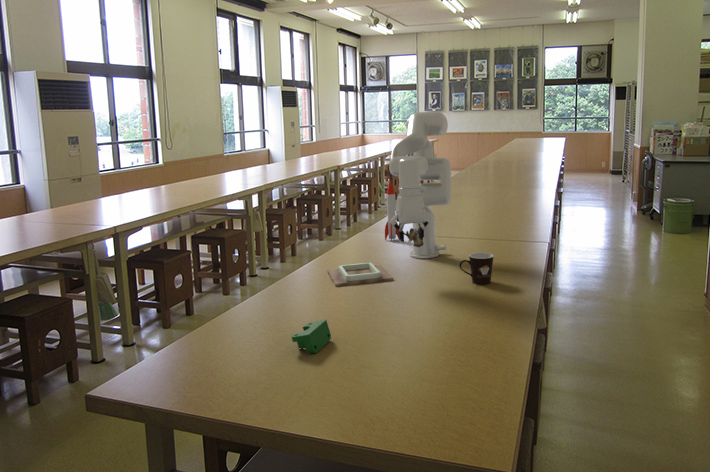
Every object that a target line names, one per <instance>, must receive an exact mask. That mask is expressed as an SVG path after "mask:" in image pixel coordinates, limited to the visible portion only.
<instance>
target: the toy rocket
mask: <svg viewBox="0 0 710 472" xmlns="http://www.w3.org/2000/svg"><path fill="white" fill-rule="evenodd" d="M386 210H387V214H386V215H387V221H386V223H385V225H384V227H385V228H384V240H385V241H386V240H387V238H388V239H390V242H391V243H392V242H393V240H394V239H396V238H397V239H398V241H400V239H399V234H398V230H397V229H396V228H395V227H394V226H393V225H392V224H391V223H390V220H391V219H392V218H393V217H394V216H395V215H396V193H395V190H394V186H393V183H392V181H391V179H390V180H389V182H388V187H387V191H386ZM395 223H396V224H397V225H399V222H397V221H395Z"/></svg>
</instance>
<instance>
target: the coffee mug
mask: <svg viewBox="0 0 710 472" xmlns="http://www.w3.org/2000/svg"><path fill="white" fill-rule="evenodd" d="M468 258H469V260H467V259H463V260H461V261H460V263H459V268H460V270H461V271H462V272H464V273H466V274H467V275H469V276H470V277H471V280H472V284H474V285H479V286H483V285H484V286H486V285H490V284H491V281H492V273H493V263H494V254H492V253H489V252H474V253H473V252H472V253H471V254H469V255H468ZM465 262H466V263H468V265H469V266H470V267H469V268H470V272H468V271H466V270H464V269H463V267H462V264H463V263H465Z"/></svg>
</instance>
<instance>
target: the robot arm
mask: <svg viewBox="0 0 710 472" xmlns="http://www.w3.org/2000/svg"><path fill="white" fill-rule="evenodd" d="M448 126H449V124H448V120H447V117H446V115H445V114H444V113H443V112H441V111H421V112H420V111H419V112H415V113H412V114H411V115H410V116H409V118H408V119H406V122H405V127H406V133H405V137H403V138H402V139H401V140H400V141H398V142H397V143H396V144H395V145H394V146H393V147H392V149H391V152H390V157H389V162H388V163H389V165H388V168H389V172H390V175H392V176H394V177H398V184H399V185H398V186H399V195H398V196H396V197H397V198H396V202H395V212H396V215H395V216H394V217H393V218H392V219H391V220H390V223H391V224H392V225H393V226H394V227H395V228H396V229H397V230H398V234H399V239H400V240H399V239H398V240H399V241H400V242H402V243H403V242H405V235H404V233H405V231H404V227H405V225H408V224H412V228H413V229H417V230H418V232H419V236H418V237H419V238H420V239H422V241H423V245H422V246H421V247H415V246H414V241H412V242H413V244H412V247H413V250H411V251H410V252H409V256H410V257H412V258H415V259H432V258H437V257H439V255H440V251H445V250H447V246H446V245H441V244H439V245H438V244H436V225H435V224H436V223H435V221H436V220H435V219H436V218H435V213H434V212H433V210H432V209H431V207H432V206H434V207H435V206H448V205H449V204H450V202H451V200H452V167H451V162H450V160H449V159H448V158H446V157H434V145H433V144H432V142H431V141H430V140H429V139H428V137H435V136H438V137H439V136H444V135H445V134H446V133H447V131H448ZM411 154H413V155H411ZM421 181H438V183H437V182H434V183H433V182H432V183H431V182H430V183H429V182H422V183H421ZM395 221H396V222H397V223H398V225H397V224H396V223H395Z"/></svg>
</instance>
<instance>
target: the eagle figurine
mask: <svg viewBox="0 0 710 472" xmlns="http://www.w3.org/2000/svg"><path fill="white" fill-rule="evenodd" d="M404 236H406V237H407V239H408V240H407V244H406V245H407V246H408V245H410V244H411V243H412V242H413V241H414V246H415V247H421V246H422V245H423V241H422V239H420V238H419V237H418V236H419V232H418V230H417V229H413V227H410V228H409V231H408V230H406V232H404Z"/></svg>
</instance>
